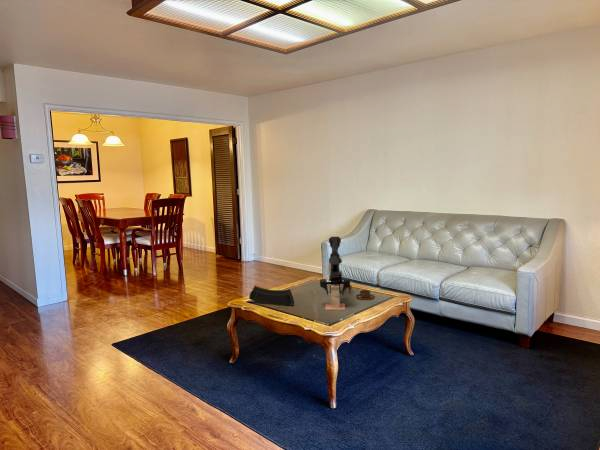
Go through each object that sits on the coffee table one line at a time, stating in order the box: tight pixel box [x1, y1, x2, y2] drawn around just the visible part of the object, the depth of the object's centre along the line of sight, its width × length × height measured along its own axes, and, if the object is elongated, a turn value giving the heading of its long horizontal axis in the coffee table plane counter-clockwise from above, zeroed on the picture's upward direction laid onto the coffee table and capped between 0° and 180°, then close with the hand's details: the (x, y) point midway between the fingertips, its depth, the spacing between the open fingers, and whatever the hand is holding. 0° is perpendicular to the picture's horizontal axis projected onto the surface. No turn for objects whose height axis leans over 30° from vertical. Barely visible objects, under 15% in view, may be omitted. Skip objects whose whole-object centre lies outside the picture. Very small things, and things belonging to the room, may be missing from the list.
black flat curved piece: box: [248, 285, 295, 306], centre depth 264 cm, size 17×3×30 cm
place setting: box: [347, 284, 375, 301], centre depth 277 cm, size 18×20×6 cm
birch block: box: [330, 285, 340, 308], centre depth 254 cm, size 5×5×13 cm
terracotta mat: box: [325, 302, 346, 311], centre depth 255 cm, size 12×12×1 cm
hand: (335, 294), depth 252 cm, fingers open, 9 cm apart
